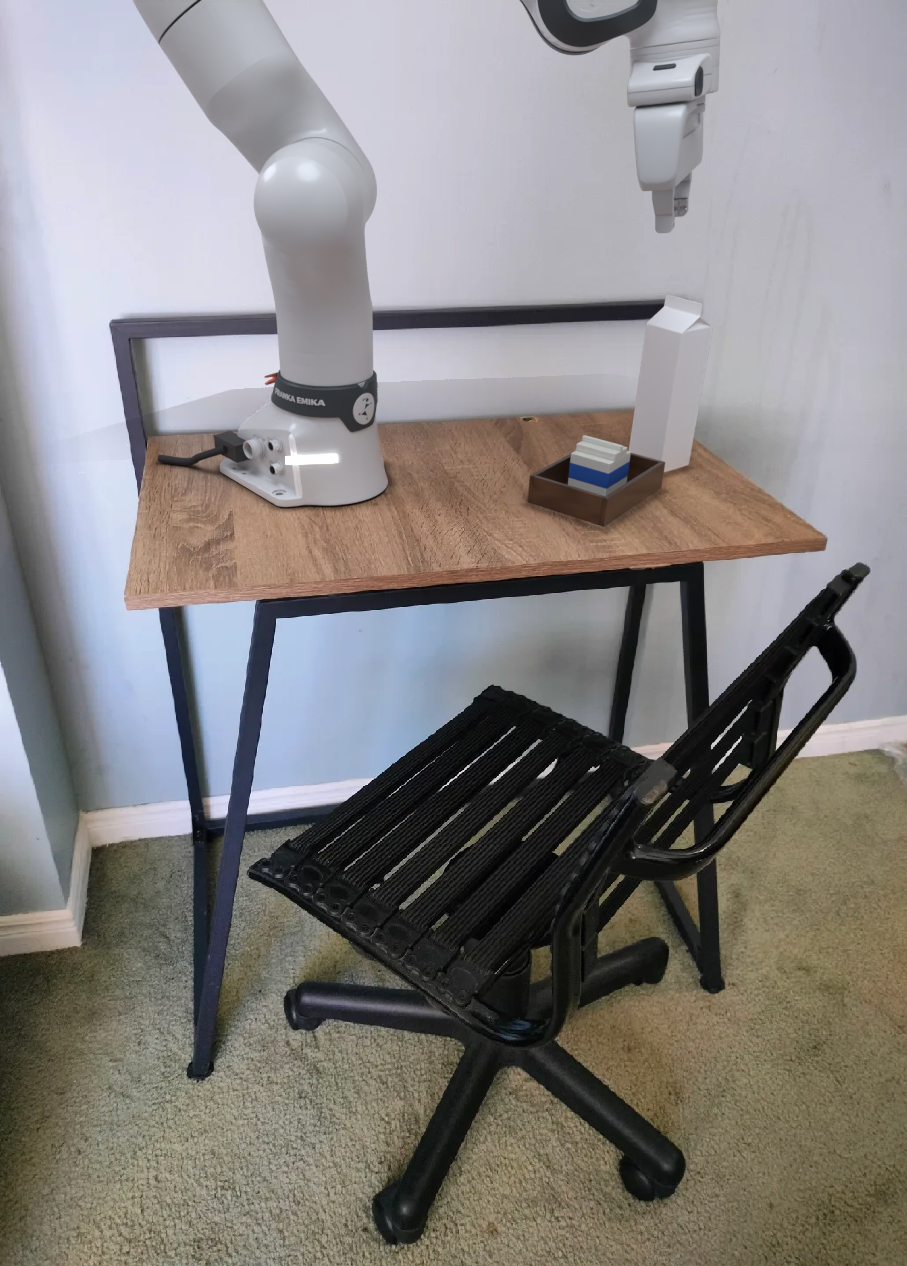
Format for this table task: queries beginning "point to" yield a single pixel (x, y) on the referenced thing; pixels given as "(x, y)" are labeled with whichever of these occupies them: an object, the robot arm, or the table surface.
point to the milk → (671, 383)
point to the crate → (588, 506)
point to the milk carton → (598, 466)
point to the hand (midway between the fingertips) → (672, 223)
